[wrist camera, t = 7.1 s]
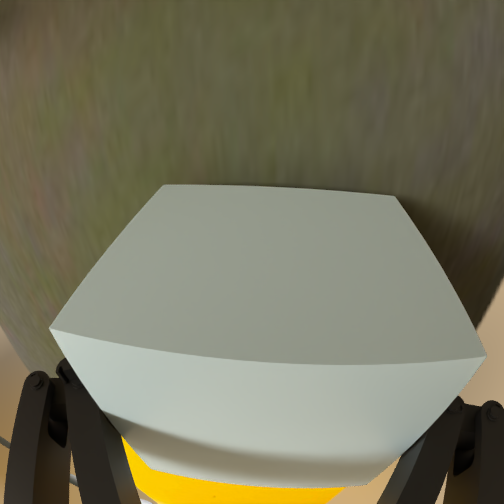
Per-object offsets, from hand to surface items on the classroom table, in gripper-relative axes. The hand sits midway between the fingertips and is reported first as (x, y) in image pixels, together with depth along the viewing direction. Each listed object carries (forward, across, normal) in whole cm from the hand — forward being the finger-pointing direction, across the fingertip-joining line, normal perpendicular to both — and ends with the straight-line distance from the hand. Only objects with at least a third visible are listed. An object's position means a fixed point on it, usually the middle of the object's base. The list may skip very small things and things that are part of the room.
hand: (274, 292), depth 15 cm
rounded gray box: (+1, 0, 0) cm, 1 cm away
